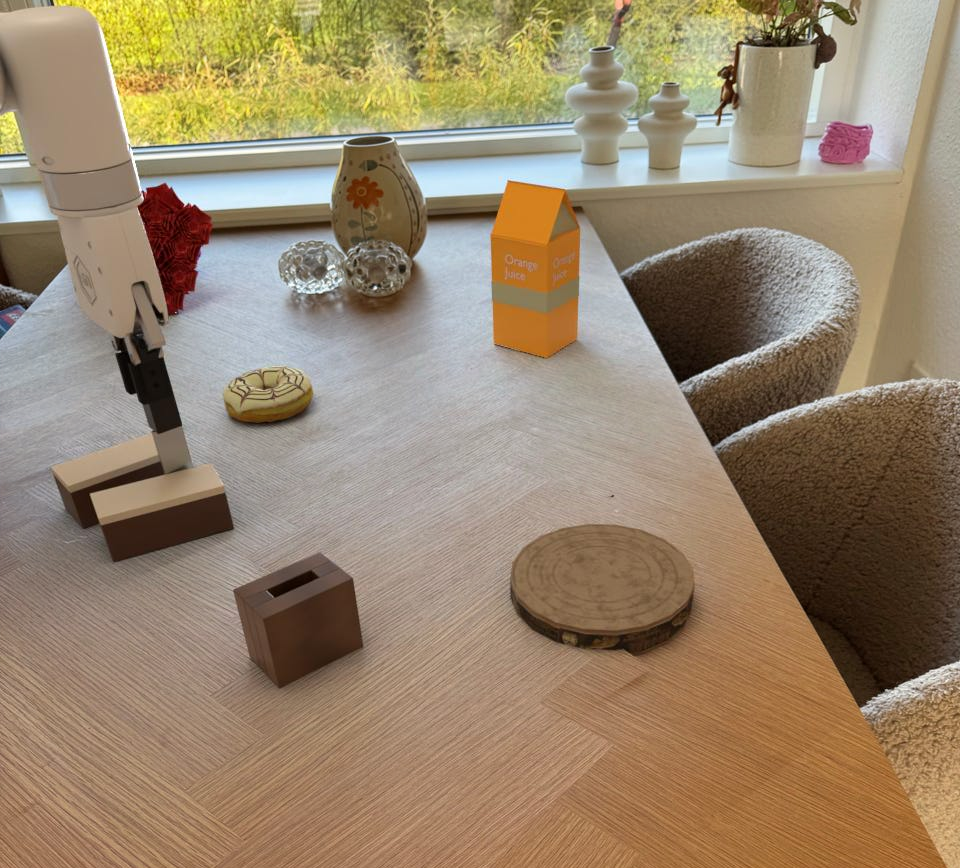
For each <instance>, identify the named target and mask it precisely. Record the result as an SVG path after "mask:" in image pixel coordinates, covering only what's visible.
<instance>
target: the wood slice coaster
mask: <svg viewBox="0 0 960 868" xmlns="http://www.w3.org/2000/svg"><path fill="white" fill-rule="evenodd" d="M510 570H511V571H510V577H509V588H510V591H509V592H510V593H509V594H510V600H511V603H512V606H513V607H514V610H515V612H516V615H517V616H518V617H519V618H520V619H521V621H523V622H524V623H525V625H527V626H528V628H530V629H531V630H532V631H533V632H535V633H538V634H539V635H541V636H544V637H545V638H547V639H549V640H551V641H553V642H555V643H558V644H562V645H566V646H570V647H573V648H578V649H582V650H598V651H619V650H624V651H625V652H627V653H628V654H630V655H631V656H633V657H634V656H639V655H645V654H646V653H650V652H651V651H654V650H656V649H658V648H661V647H663V646H666V645H667V644H669V643H670V642H671V641H672V640H674V638H676V637H677V636H678V635H679V634H680V633H681V632H683V631H684V629H685V627H686V625H687V623H688V621H689V618H690V616H691V613H692V609H693V601H694V593H695V585H696V584H695V576H694V567H693V566H692V564H691V563H690V561H689V560H688V559H687V557H686V556H685V554H684V552H683V551H682V550H680V549H679V548H677V546H675V545H673V544H672V543H671V542H669V541H668V540H667V539H665V538H663V537H660V536H658V535H655V534H653V533H651V532H648V531H645V530H644V529H639V528H635V527H630V526H624V525H620V524H605V523H585V524H579V525H574V526H566V527H561V528H558V529H556V530H553V531H551V532H547V533H544V534H542V535H539V536H538V537H537V538H535V539H534V540H532V541H531V542H529V543H527V545H525V546H523V547H522V549H521V550H520V552H518V554H517V555H516V557H515V559H514V560H513V561H512V563H511V569H510Z"/></svg>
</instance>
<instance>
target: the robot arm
mask: <svg viewBox="0 0 960 868" xmlns="http://www.w3.org/2000/svg"><path fill="white" fill-rule="evenodd" d="M111 65H112V64H111V61H110V57H109V53H108V49H107V45H106V41H105V37H104V33H103V30H102V27H101V25H100V23H99V21H98V19H97V18H96V17H95V15H94V14H93V13H92V12H90V11H89V10H87V9H86V8H83V7H79V6H75V5H48V6H36V7H27V8H21V9H17V10H13V11H10V12H1V11H0V117H1V116H4V115H5V114H8V113H13V112H14V113H15V112H19V113H20V116H21V120H22V122H23V125H24V129H25V132H26V135H27V138H28V142H29V146H30V148H31V151H32V155H33V158H34V161H35V165H36V167H37V171H38V175H39V178H40V181H41V185H42V187H43V190H44V195H45V198H46V201H47V204H48V207H49V211H50V213H51V214H52V215H54V216H56V218H57V223H58V227H59V232H60V236H61V241H62V244H63V245H62V246H63V250H64V254H65V256H66V257H65V258H66V262H67V265H68V269H69V273H70V276H71V280H72V284H73V289H74V293H75V296H76V299H77V303H78V305H79V309H81V312H82V313H83V314H84V315H85V316H86V317H87V318H88V319H90V320H91V321H92V322H93V323H95V324H96V325H98V326H100V327H101V328H102V329H103V330H105V331H106V332H107V333H108V336H109V340H110V343H111V346H112V348H113V350H114V352H116V353H114V356H115V359H116V363H117V365H118V369H119V372H120V376H121V380H122V383H123V386H124V389H125V392H126V393H127V394H129V395H130V396H132V395H133V396H134V395H136V397H137V401H138V403H140V404H141V405H142V404H143V405H146V404H150V403H153V402H156V401H159V400H162V399H165V398H168V397H171V396H172V394H173V393H174V390H173V391H172V389H173V386H172V383H171V384H170V382H171V379H170V380H169V378H170V375H169V372H167V371H168V368H167V364H166V361H165V357H164V356H165V354H164V350H163V349H164V348H163V347H164V346H166V344H167V342H166V338H165V335H164V334H163V331H162V329H161V327H164V326H166V325H167V323H168V320H169V314H168V312H167V306H166V302H165V297H164V293H163V289H162V285H161V281H160V278H159V274H158V270H157V267H156V264H155V260H154V257H153V253H152V250H151V247H150V244H149V241H148V237H147V234H146V231H145V228H144V225H143V222H142V219H141V216H140V214H139V211H138V208H137V206H138V205H140V204H141V203H142V202H143V200H144V199H143V194H142V191H141V189H142V187H141V183H140V179H139V175H138V170H137V167H136V163H135V159H134V156H133V151H132V147H131V142H130V139H129V136H128V131H127V127H126V122H125V119H124V114H123V110H122V105H121V102H120V98H119V94H118V89H117V86H116V82H115V81H116V80H115V78H114V74H113V73H114V72H113V68H112V66H111ZM143 334H144V336H143V338H140V339H138V340H137V345H136V342H135V338H134V337H136V336H140V335H143ZM122 338H124V339H125V342H126V345H127V349H128V352H129V356H130V359H131V361H132V362H130V363H129V359H128V356H127V353H126V349H125V346H124V343H123V340H122ZM168 375H169V376H168ZM171 386H172V387H171ZM143 405H142V406H143Z"/></svg>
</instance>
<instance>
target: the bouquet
mask: <svg viewBox="0 0 960 868" xmlns="http://www.w3.org/2000/svg"><path fill="white" fill-rule="evenodd" d="M141 191H142V194H143V199H144V200H143V202H142V203H141V204H140V205H138V206H137V208H138V211H139V214H140V216H141V219H142V222H143V225H144V228H145V231H146V234H147V237H148V241H149V244H150V247H151V250H152V253H153V257H154V260H155V264H156V267H157V270H158V274H159V278H160V281H161V285H162V289H163V293H164V297H165V302H166V306H167V312H168V315H172V314H171V313H175V312H177V311H178V312H179V311H183V312H184V299H185V295H190V293H189V292H192V293H193V292H194V293H195V290H196V282H197V277H198V275H199V271H198V270H196V269H197V268H198V262H199V260H200V258H201V256H202V249H201V248H202V247H204V246H206V245H209V244H210V236H211V235H210V234H211V232H212V230H213V227H214V223H211V222H212V219H213V217H212V216H211V215H209V214H207V213H206V212H204V210H203V211H202V209H201V208H199V206H197V205H196V204H193V205H192V204H191V203H190V202H187V203H186V205H185V203H184V202H183V201H182V200H181V199H180V198H179V197H178V195H177V194H176V192H175V190H174V188H173V186H170V187H169V186H168V184H167V182H164V183H161V184H159V185H156V186H149V187H145V191H144V190H143V189H142V188H141Z"/></svg>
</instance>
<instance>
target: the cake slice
mask: <svg viewBox="0 0 960 868" xmlns="http://www.w3.org/2000/svg"><path fill="white" fill-rule="evenodd" d="M90 496H91V499H92V502H93V505H94V508H95V511H96V514H97V517H98V519H99V522H100V523H99V525H100V528H101V531H102V533H103V537H104V540H105V542H106V545H107V548H108V551H109V554H110V557H111V559H112V562H114V563H116V562H119V561H123V560H125V559H129V558H133V557H136V556H137V557H138V556H140V555H144V554H148V553H151V552H155V551H159V550H162V549H165V548H169V547H173V546H176V545H180V544H183V543H187V542H191V541H195V540H197V539H201V538H205V537H208V536H213V535H217V534H220V533H224V532H226V531H230V530H234V529H235V526H234V522H233V518H232V513H231V510H230V505H229V501H228V497H227V493H226V488H225V484H224V483H223V482H222V479H221V478H220V477H219V475H218V473H217V471H216V469H215V468H214V465H213V464H212V462H210V463H205V464H202V465H198V466H193V468H189V469H186V470H182V471H178V472H174V473H170V474H166V475H162V476H158V477H154V478H150V479H146V480H142V481H138V482H134V483H130V484H126V485H122V486H118V487H114V488H110V489H107V490H103V491H99V492H95V493H91V494H90Z"/></svg>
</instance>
